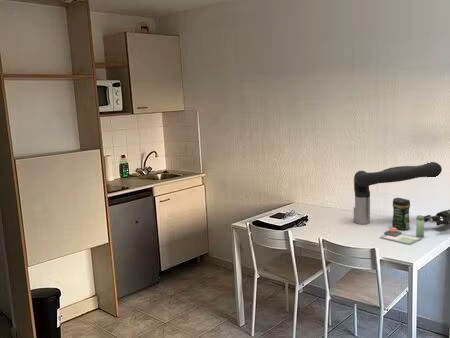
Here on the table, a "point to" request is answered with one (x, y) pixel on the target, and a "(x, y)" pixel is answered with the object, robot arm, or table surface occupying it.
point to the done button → (392, 230)
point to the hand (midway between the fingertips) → (430, 222)
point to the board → (400, 238)
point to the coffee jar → (401, 214)
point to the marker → (420, 226)
